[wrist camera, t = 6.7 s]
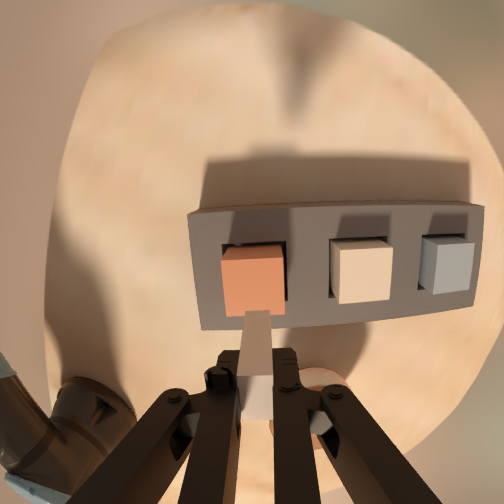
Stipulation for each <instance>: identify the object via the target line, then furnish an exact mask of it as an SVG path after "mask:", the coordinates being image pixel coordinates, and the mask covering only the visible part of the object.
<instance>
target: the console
mask: <svg viewBox="0 0 504 504" xmlns="http://www.w3.org/2000/svg"><path fill="white" fill-rule="evenodd" d="M187 218H188V228H189V238H190V247H191V256H192V264H193V273H194V281H195V288H196V296H197V303H198V310H199V317H200V324H201V330H243V325H244V317H245V316H232V317H226V309H225V299H224V289H223V280H222V269H221V259H222V257H223V256H224V254H225V252H226V250H227V248H228V247H232V246H251V245H270V244H281V249H282V254H283V269H284V298H285V314H284V315H270V317H271V329H277V328H296V327H312V326H325V325H337V324H348V323H359V322H368V321H377V320H386V319H394V318H402V317H409V316H416V315H423V314H430V313H436V312H443V311H449V310H455V309H460V308H466V307H471V306H473V304H474V299H475V293H476V287H477V281H478V275H479V267H480V259H481V250H482V240H483V226H484V206H481V205H477V204H471V203H466V202H461V201H338V202H308V203H284V204H265V205H248V206H232V207H218V208H205V209H198V210H196V211H194V212H191V213H189V214H187ZM426 234H453V235H455V236H458V237H461V238H463V239H466V240H468V241H471V242H474V243H475V245H474V256H473V264H472V272H471V279H470V286H469V290H462V291H455V292H448V293H440V294H431V293H430V292H429V291H428V290H426V289H425V288H424V287H423V286H421V285H420V284H419V283H418V279H419V268H420V256H421V240H422V235H426ZM354 237H376V238H378V239H380V240H381V241H383V242H385V243H387V244H388V245H390V246H391V247H393V257H392V273H391V286H390V297H389V300H379V301H369V302H358V303H346V304H339V303H338V301H337V299H336V297H335V296H334V294H333V292H332V290H331V288H330V286H329V239H332V238H354Z"/></svg>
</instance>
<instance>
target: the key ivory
mask: <svg viewBox="0 0 504 504" xmlns="http://www.w3.org/2000/svg"><path fill="white" fill-rule="evenodd" d="M392 257H393V247H391V246H390V245H388V244H387V243H385V242H383V241H381V240H380V239H378V238H376V237H354V238H332V239H329V286H330V288H331V290H332V292H333V294H334V296H335V297H336V299H337V301H338V303H339V304H346V303H358V302H369V301H379V300H389V297H390V286H391V273H392Z"/></svg>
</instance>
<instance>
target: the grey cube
mask: <svg viewBox="0 0 504 504" xmlns="http://www.w3.org/2000/svg"><path fill="white" fill-rule="evenodd" d="M474 245H475V243H474V242H471V241H468V240H466V239H463V238H461V237H458V236H455V235H453V234H426V235H422V240H421V256H420V268H419V279H418V283H419V284H420V285H421V286H423V287H424V288H425V289H426V290H428V291H429V292H430V293H431V294H440V293H448V292H455V291H462V290H469V286H470V279H471V272H472V264H473V256H474Z"/></svg>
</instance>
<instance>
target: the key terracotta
mask: <svg viewBox="0 0 504 504" xmlns="http://www.w3.org/2000/svg"><path fill="white" fill-rule="evenodd" d="M221 269H222V280H223V289H224V299H225V309H226V317H232V316H245V311H259V310H270V315H284V314H285V298H284V269H283V254H282V249H281V244H270V245H251V246H232V247H228V248H227V250H226V252H225V254H224V256H223V257H222V259H221Z"/></svg>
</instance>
